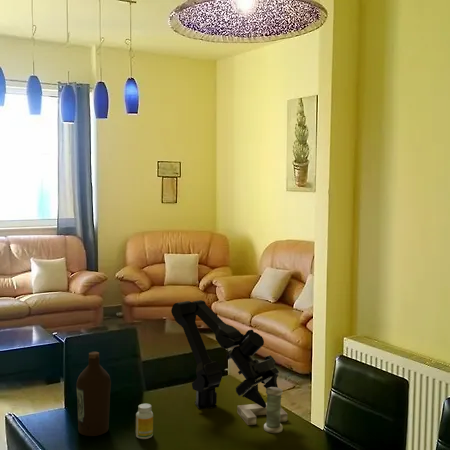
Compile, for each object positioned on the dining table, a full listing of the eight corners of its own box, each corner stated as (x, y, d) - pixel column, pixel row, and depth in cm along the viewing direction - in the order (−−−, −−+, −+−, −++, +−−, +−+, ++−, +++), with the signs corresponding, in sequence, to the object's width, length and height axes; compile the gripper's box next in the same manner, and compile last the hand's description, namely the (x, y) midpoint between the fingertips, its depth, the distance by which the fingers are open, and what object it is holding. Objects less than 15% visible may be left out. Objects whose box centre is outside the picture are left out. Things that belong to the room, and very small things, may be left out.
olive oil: (106, 421, 196) (107, 347, 195) (113, 434, 187) (114, 355, 185) (73, 426, 192) (74, 349, 190) (79, 439, 183) (79, 359, 181)
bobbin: (267, 433, 190) (268, 393, 189) (261, 426, 195) (262, 387, 194) (285, 432, 191) (286, 392, 190) (278, 424, 197) (279, 386, 196)
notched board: (247, 425, 196) (247, 417, 196) (237, 412, 206) (237, 405, 206) (287, 421, 200) (287, 413, 200) (275, 408, 211) (275, 402, 210)
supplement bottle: (132, 435, 187) (132, 405, 186) (147, 430, 190) (147, 401, 189) (141, 441, 182) (141, 410, 182) (156, 436, 186) (156, 406, 185)
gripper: (244, 355, 187) (273, 397, 181) (274, 343, 202) (302, 381, 197) (223, 375, 192) (251, 416, 187) (254, 361, 207) (281, 399, 202)
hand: (273, 402), depth 193 cm, fingers open, 9 cm apart
